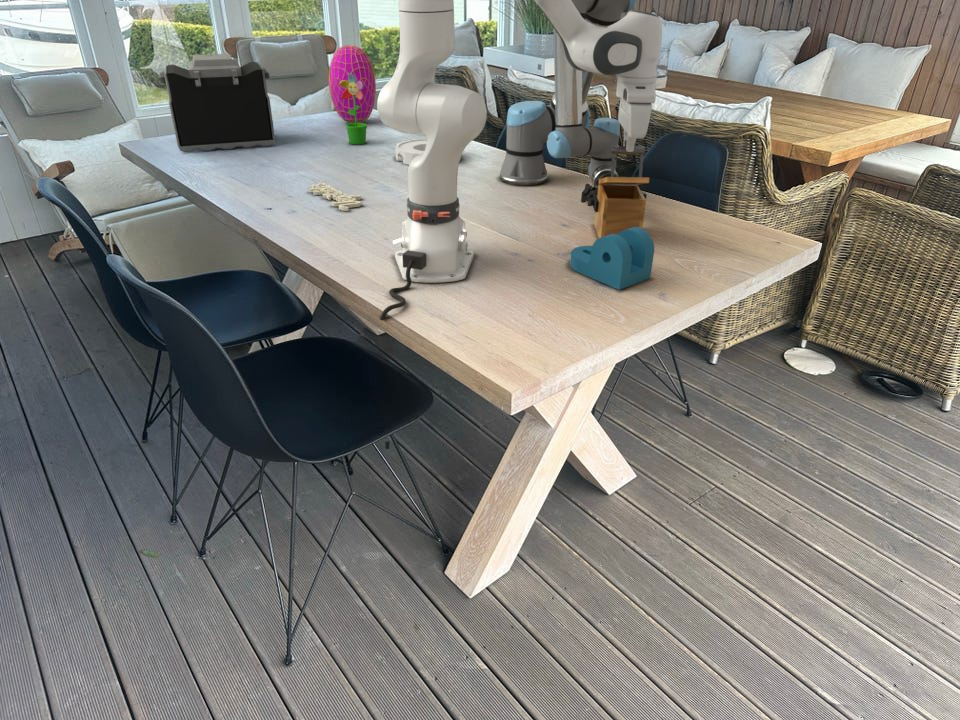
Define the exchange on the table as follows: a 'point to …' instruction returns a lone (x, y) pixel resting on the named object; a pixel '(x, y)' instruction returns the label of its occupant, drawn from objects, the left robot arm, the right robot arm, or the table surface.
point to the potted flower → (354, 129)
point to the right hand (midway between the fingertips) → (618, 207)
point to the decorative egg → (361, 68)
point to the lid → (625, 180)
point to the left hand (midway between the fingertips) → (628, 149)
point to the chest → (619, 209)
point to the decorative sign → (336, 196)
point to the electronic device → (219, 104)
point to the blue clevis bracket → (616, 258)
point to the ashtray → (410, 150)
